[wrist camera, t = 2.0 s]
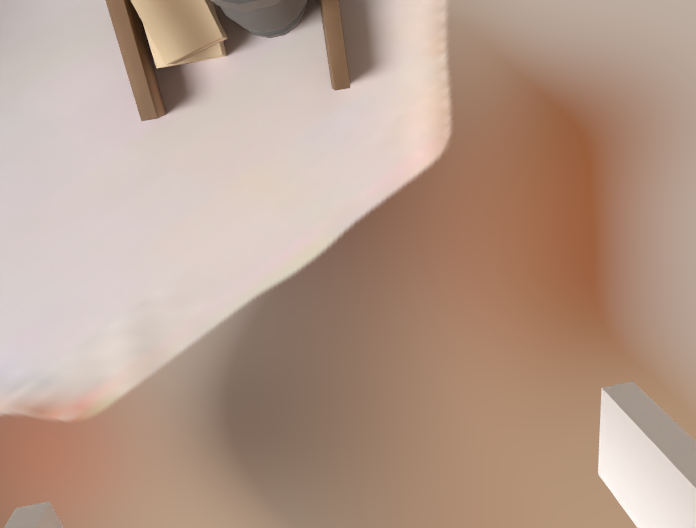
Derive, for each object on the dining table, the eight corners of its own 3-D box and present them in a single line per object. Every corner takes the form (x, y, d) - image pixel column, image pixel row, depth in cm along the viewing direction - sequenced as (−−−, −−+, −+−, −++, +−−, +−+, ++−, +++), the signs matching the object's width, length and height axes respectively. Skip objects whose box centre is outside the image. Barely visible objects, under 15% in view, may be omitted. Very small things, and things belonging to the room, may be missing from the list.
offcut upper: (175, 64, 37) (165, 64, 35) (121, -36, 35) (106, -44, 32) (227, 38, 37) (222, 36, 34) (177, -65, 34) (167, -75, 32)
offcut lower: (165, 67, 40) (156, 68, 37) (132, -48, 37) (119, -56, 34) (227, 56, 40) (222, 56, 38) (199, -60, 37) (191, -69, 34)
